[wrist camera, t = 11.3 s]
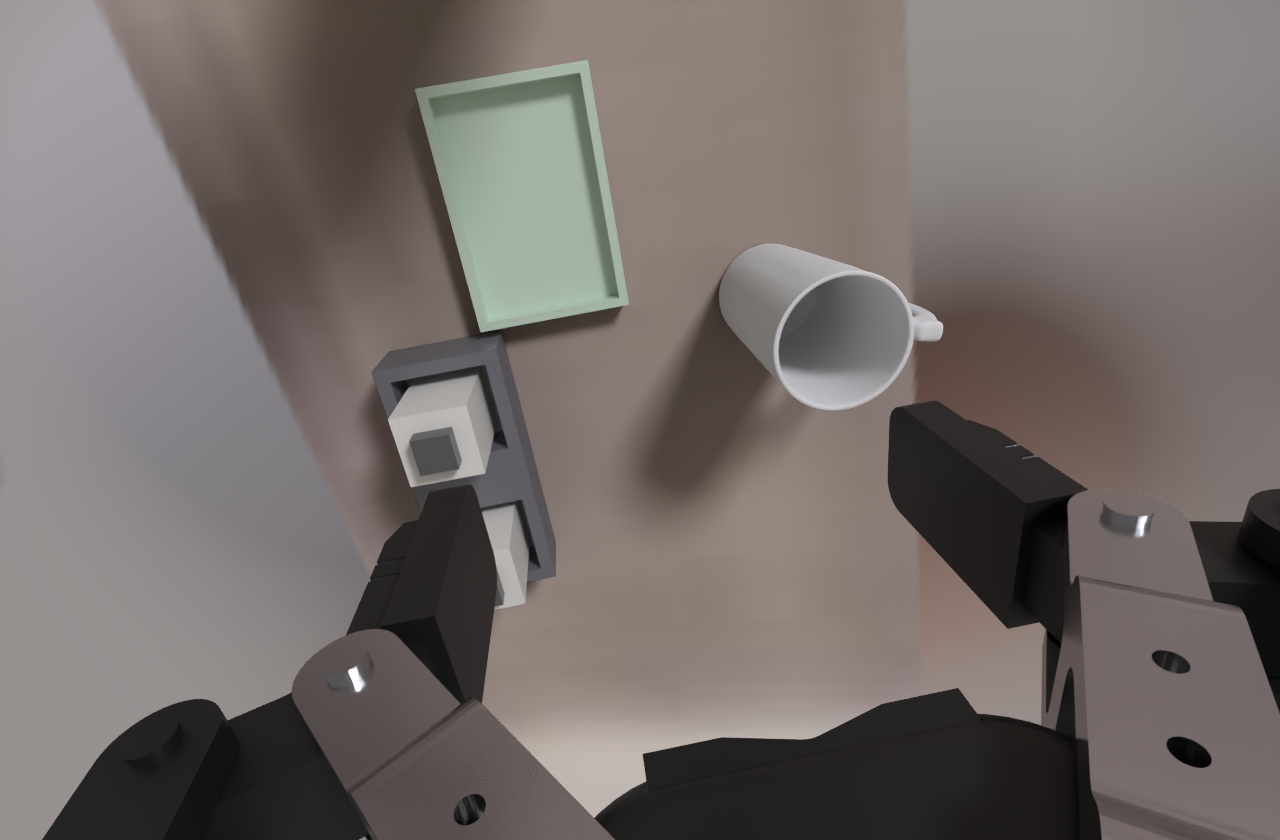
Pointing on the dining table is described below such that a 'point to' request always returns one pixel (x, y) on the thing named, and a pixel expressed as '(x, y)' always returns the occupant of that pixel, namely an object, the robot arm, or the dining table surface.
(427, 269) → the dining table surface
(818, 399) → the mug
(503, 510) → the twin plug
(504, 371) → the grey rectangular frame
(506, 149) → the tray
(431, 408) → the plug
